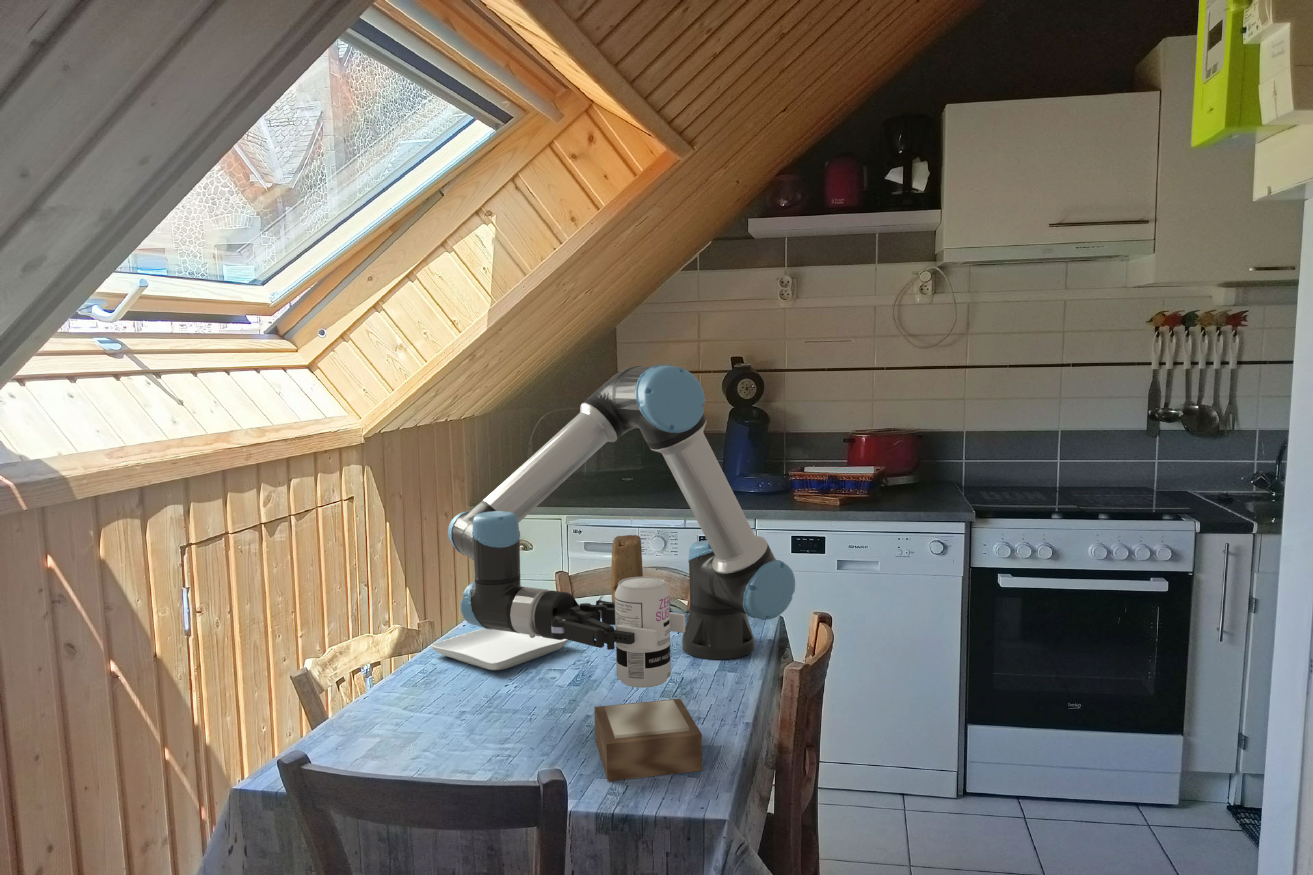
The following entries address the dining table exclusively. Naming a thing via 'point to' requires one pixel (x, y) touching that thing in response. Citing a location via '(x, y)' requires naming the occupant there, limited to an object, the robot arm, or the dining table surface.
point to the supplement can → (648, 609)
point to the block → (625, 560)
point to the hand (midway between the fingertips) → (670, 631)
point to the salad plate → (496, 648)
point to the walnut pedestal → (647, 739)
